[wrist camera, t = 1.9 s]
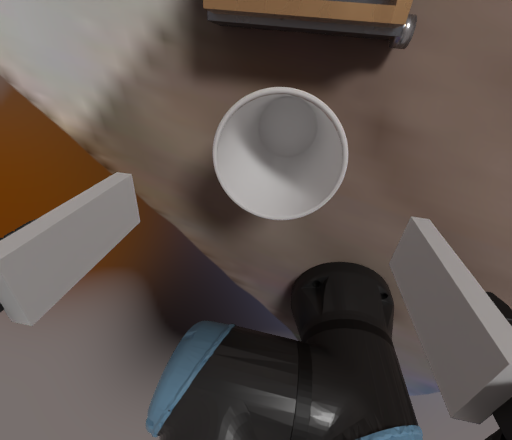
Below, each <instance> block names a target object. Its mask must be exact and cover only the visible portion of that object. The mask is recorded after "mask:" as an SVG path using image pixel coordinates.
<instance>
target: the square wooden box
mask: <svg viewBox="0 0 512 440" xmlns="http://www.w3.org/2000/svg"><path fill="white" fill-rule="evenodd" d="M412 1H413V0H203V8H204V9H206V10H207V16H208V21H211V22H213V23H216V24H218V25H221V26H232V27H244V28H255V29H267V30H278V31H290V32H301V33H313V34H324V35H336V36H347V37H359V38H370V39H382V40H388V39H389V48H396V49H405V48H406V47H407V46H408V44H409V42H410V40H411V38H412V36H413V33H414V30H415V26H416V22H417V16H416V15H414V14H409V11H410V8H411V4H412Z"/></svg>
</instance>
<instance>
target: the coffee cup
mask: <svg viewBox="0 0 512 440" xmlns="http://www.w3.org/2000/svg"><path fill="white" fill-rule="evenodd" d="M242 105H243V106H242ZM237 109H238V110H237ZM235 111H236V112H235ZM234 112H235V113H234ZM233 113H234V114H233ZM225 124H226V125H225ZM337 131H338V132H337ZM220 135H221V136H220ZM340 140H341V141H340ZM341 144H342V145H341ZM342 156H343V157H342ZM213 164H214V169H215V172H216V175H217V178H218V180H219V182H220V184H221V186H222V188H223V189H224V191H225V192H226V194H227V195H228V196H229V197H230V198H231V199H232V200H233V201H234V202H235V203H236V204H237V205H238V206H240V207H241V208H242V209H244V210H246V211H247V212H249V213H251V214H253V215H256V216H259V217H262V218H266V219H271V220H290V219H296V218H300V217H303V216H306V215H308V214H310V213H312V212H314V211H316V210H317V209H319V208H320V207H322V206H323V205H324V204H325V203H327V202H328V201H329V200H330V199H331V198H332V196H333V195H334V194H335V193H336V191H337V190H338V188H339V187H340V185H341V183H342V181H343V178H344V176H345V173H346V169H347V164H348V144H347V139H346V135H345V132H344V129H343V127H342V125H341V123H340V121H339V119H338V118H337V116H336V115H335V114H334V112H333V111H332V110H331V109H330V108H329V107H328V106H327V105H326V104H325V103H324V102H322V101H321V100H320V99H318V98H317V97H315V96H313V95H311V94H309V93H307V92H305V91H302V90H299V89H295V88H289V87H271V88H265V89H261V90H258V91H255V92H253V93H251V94H248V95H247V96H245V97H243V98H242V99H240V100H239V101H238V102H236V103H235V104H234V105H233V106H232V107H231V108H230V109H229V110H228V111H227V113H226V114H225V115H224V117H223V118H222V120H221V122H220V124H219V126H218V128H217V131H216V134H215V137H214V142H213ZM341 165H342V166H341Z"/></svg>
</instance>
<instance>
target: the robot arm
mask: <svg viewBox="0 0 512 440" xmlns="http://www.w3.org/2000/svg"><path fill="white" fill-rule="evenodd" d="M138 223H140V217H139V212H138V206H137V201H136V196H135V190H134V184H133V179H132V174H126V173H119V172H117V173H115V174H113V175H112V176H110V177H108V178H106V179H105V180H103V181H101V182H100V183H98V184H96V185H94V186H93V187H91V188H89V189H88V190H86V191H84V192H83V193H81V194H79V195H77V196H76V197H74V198H72V199H71V200H69V201H67V202H66V203H64V204H62V205H60V206H59V207H57V208H55V209H54V210H52V211H50V212H48V213H47V214H45V215H43V216H42V217H40V218H38V219H35V220H32V221H29V222H27V223H26V224H24V225H22V226H20V227H19V228H17V229H16V230H15V231H12V232H10V233H8V234H7V235H5V236H4V238H0V312H1V311H3V310H4V311H5V312H6V314H7V315H8V317H9V318H10V320H11V321H12V322H16V323H21V324H25V325H30V326H33V325H34V324H35V323H36V322H37V321H38V320H39V319H40V318H41V317H42V316H43V315H44V314H45V313H46V312H47V311H48V310H49V309H50V308H51V307H52V306H53V305H54V304H56V302H58V301H59V300H60V298H61V297H62V296H64V295H65V294H66V293H67V292H68V291H69V290H70V289H71V288H72V287H73V286H74V285H75V284H76V283H77V282H78V281H79V280H80V279H81V278H82V277H84V276H85V275H86V274H87V273H88V272H89V271H90V270H91V269H92V268H93V267H94V266H95V265H96V264H97V263H98V262H99V261H100V260H101V259H102V258H103V257H104V256H105V255H106V254H107V253H108V252H109V251H110V250H112V249H113V248H114V247H115V246H116V245H117V244H118V243H119V242H120V241H121V240H122V239H123V238H124V237H125V236H126V235H127V234H128V233H129V232H130V231H131V230H132V229H133V228H134V227H135V226H136V225H137V224H138ZM389 265H390V268H391V270H392V273H393V275H394V278H395V280H396V283H397V285H398V288H399V290H400V293H401V295H402V298H403V300H404V302H405V305H406V307H407V310H408V312H409V315H410V317H411V320H412V322H413V325H414V327H415V330H416V332H417V335H418V337H419V340H420V342H421V345H422V347H423V350H424V352H425V355H426V357H427V360H428V362H429V365H430V367H431V370H432V372H433V375H434V377H435V380H436V382H437V385H438V387H439V390H440V392H441V395H442V397H443V400H444V402H445V405H446V407H447V410H448V412H449V415H450V417H451V418H454V419H458V420H463V421H467V422H472V423H476V424H481V423H482V422H483V421H484V420H486V419H487V418H488V417H489V416H491V415H492V414H493V416H494V418H495V420H496V422H497V423H498V425H499V427H500V429H499V430H497V431H496V432H495V433H493V434H492V435H490V436H489V437H488V438H486V439H485V440H512V310H511V309H510V307H509V306H508V305H507V304H505V303H504V302H503V301H502V300H500V299H499V298H498V297H497V296H495V295H494V294H493V293H491V292H485V291H484V290H483V288H482V287H481V286H480V284H479V283H478V282H477V281H476V279H475V278H474V277H473V275H472V274H471V273H470V271H469V270H468V269H467V268H466V266H465V265H464V264H463V262H462V261H461V260H460V258H459V257H458V256H457V255H456V253H455V252H454V251H453V249H452V248H451V247H450V245H449V244H448V243H447V242H446V240H445V239H444V238H443V236H442V235H441V234H440V232H439V231H438V230H437V229H436V227H435V226H434V225H433V223H432V222H431V221H430V219H424V218H417V217H411V218H410V220H409V222H408V224H407V226H406V229H405V231H404V233H403V235H402V237H401V239H400V241H399V244H398V246H397V248H396V250H395V252H394V254H393V256H392V258H391V261H390V263H389ZM291 309H292V313H293V316H294V319H295V322H296V325H297V328H298V331H299V334H300V337H301V342H300V341H296V340H293V339H289V338H284V337H280V336H276V335H272V334H267V333H263V332H259V331H255V330H251V329H247V328H243V327H239V326H236V325H235V324H230V325H229V324H223V323H218V322H213V321H201V322H198V323H196V324H195V325H193V326H192V327H191V328H190V329H189V330H188V331H187V333H186V334H185V335H184V336H183V338H182V339H181V341H180V342H179V344H178V346H177V347H176V349H175V351H174V352H173V354H172V356H171V358H170V360H169V362H168V363H167V365H166V367H165V369H164V371H163V374H162V376H161V378H160V380H159V383H158V385H157V387H156V390H155V393H154V395H153V398H152V401H151V403H150V406H149V410H148V418H147V420H146V429H147V431H148V432H149V433H151V434H152V436H153V437H157V436H160V440H423V439H422V436H423V434H422V430H421V428H420V427H419V426H418V423H417V420H416V417H415V413H414V410H413V407H412V404H411V400H410V397H409V394H408V391H407V387H406V384H405V381H404V378H403V375H402V371H401V368H400V365H399V362H398V359H397V355H396V352H395V349H394V346H393V342H392V329H393V316H394V302H393V298H392V295H391V292H390V290H389V287H388V285H387V283H386V282H385V280H384V279H383V278H382V277H381V276H380V275H379V274H377V273H376V272H374V271H373V270H371V269H369V268H367V267H364V266H361V265H358V264H354V263H346V262H334V263H327V264H322V265H319V266H316V267H314V268H312V269H310V270H308V271H306V272H305V273H304V274H302V275H301V276H300V277H299V278H298V279H297V281H296V282H295V284H294V286H293V289H292V296H291Z"/></svg>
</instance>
